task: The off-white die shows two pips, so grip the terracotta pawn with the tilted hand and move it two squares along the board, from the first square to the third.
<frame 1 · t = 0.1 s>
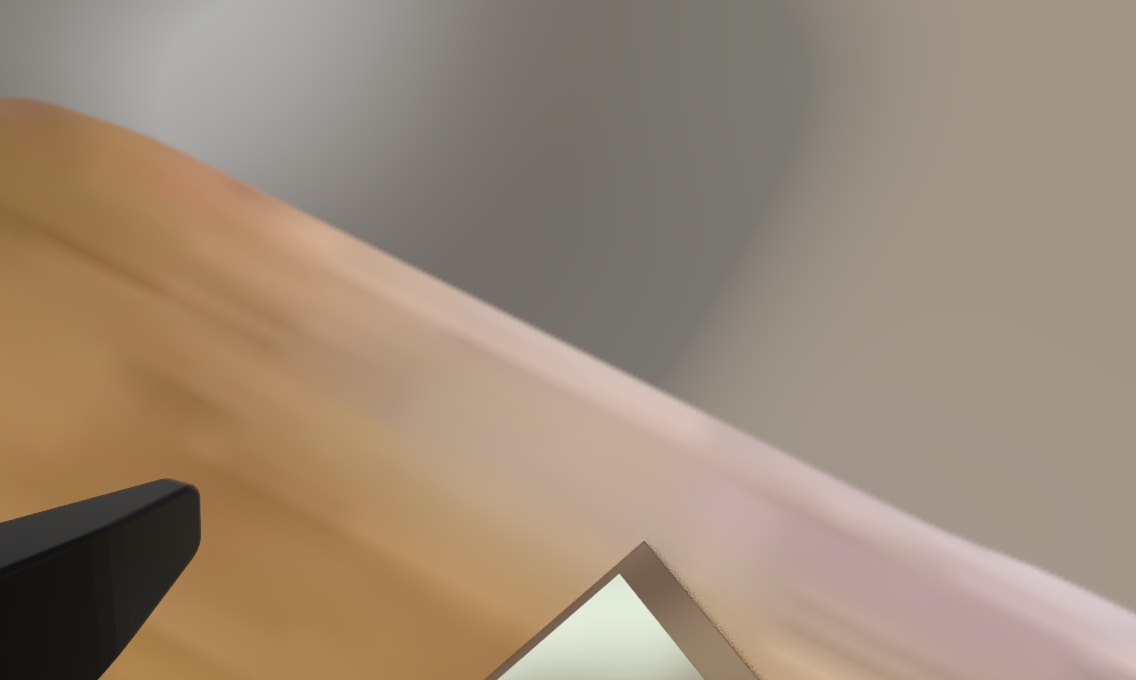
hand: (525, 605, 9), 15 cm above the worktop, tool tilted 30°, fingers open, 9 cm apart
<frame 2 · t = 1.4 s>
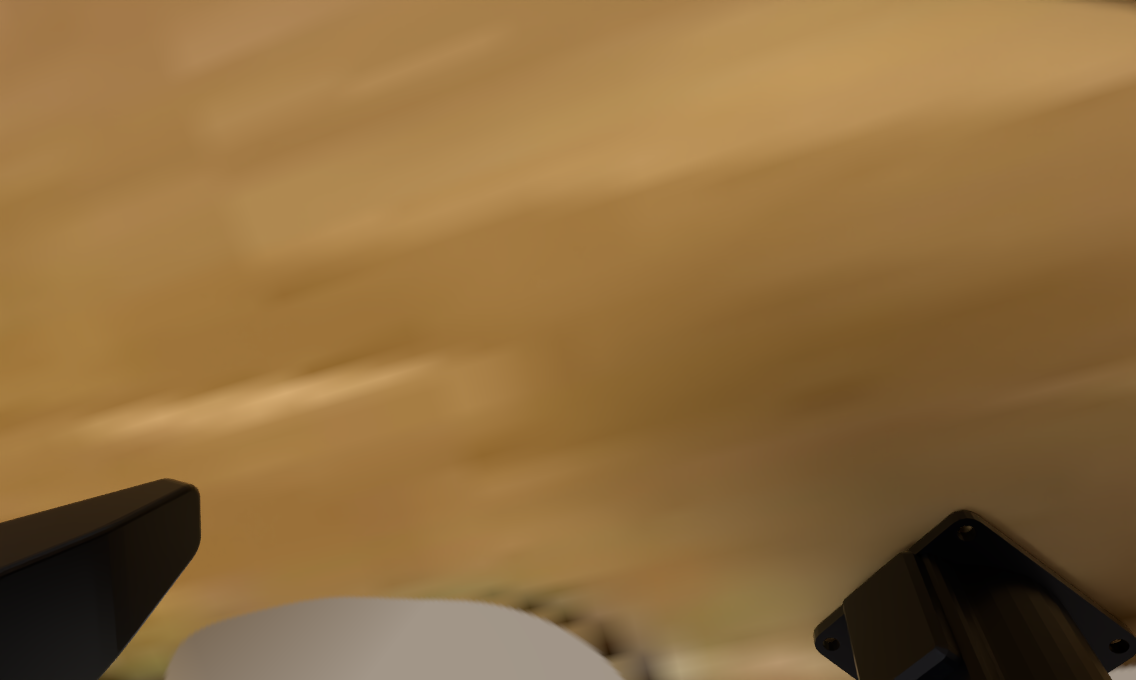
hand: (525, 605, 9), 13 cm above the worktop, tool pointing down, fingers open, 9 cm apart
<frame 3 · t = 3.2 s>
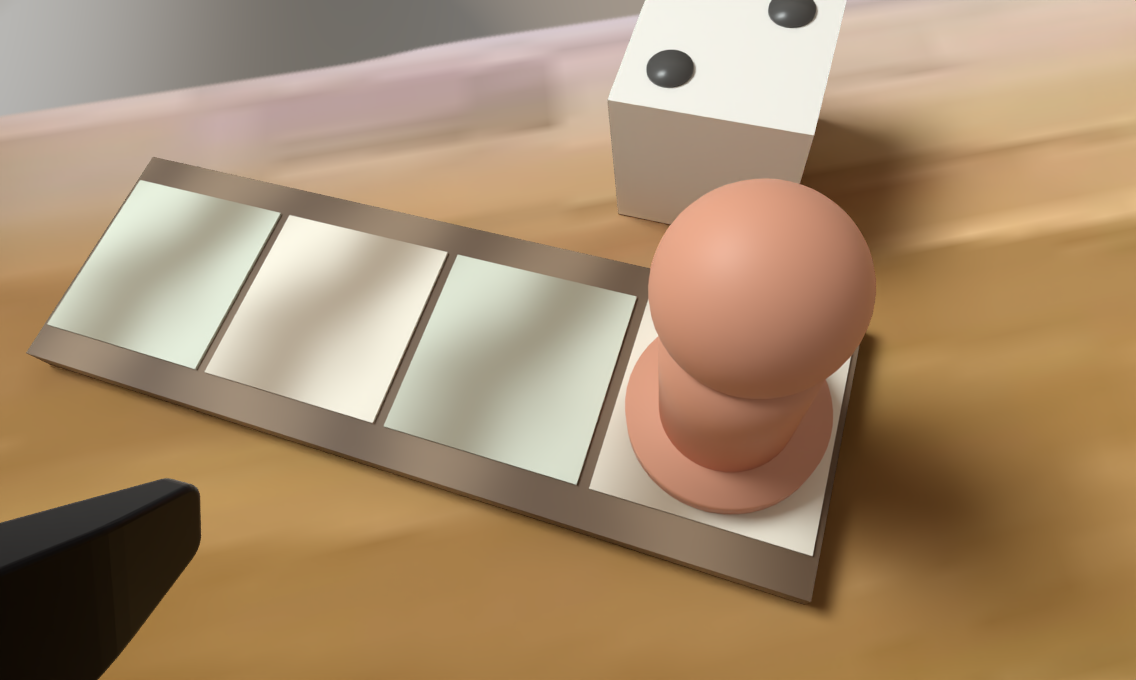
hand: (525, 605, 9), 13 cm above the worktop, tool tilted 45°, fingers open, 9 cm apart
board: (426, 347, 25), on the worktop
die: (717, 164, 27), on the worktop
pawn: (724, 415, 22), point 1 cm above the worktop, touching board
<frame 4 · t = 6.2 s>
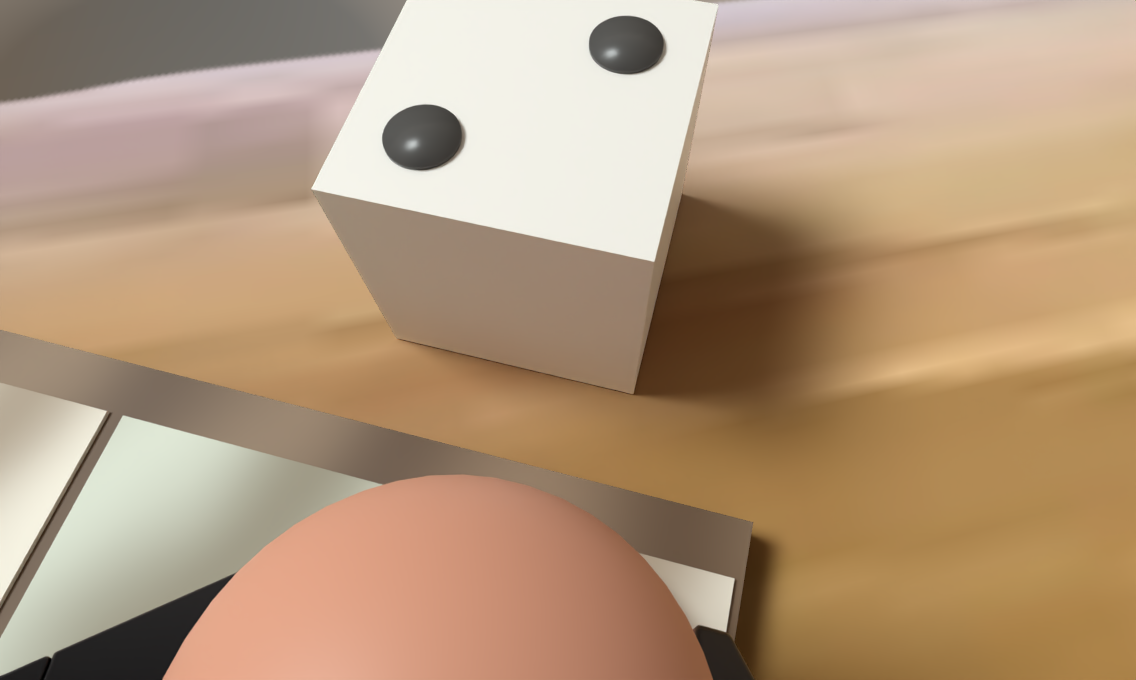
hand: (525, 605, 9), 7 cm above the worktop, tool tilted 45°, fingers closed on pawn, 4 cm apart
board: (67, 569, 16), on the worktop
die: (545, 262, 19), on the worktop
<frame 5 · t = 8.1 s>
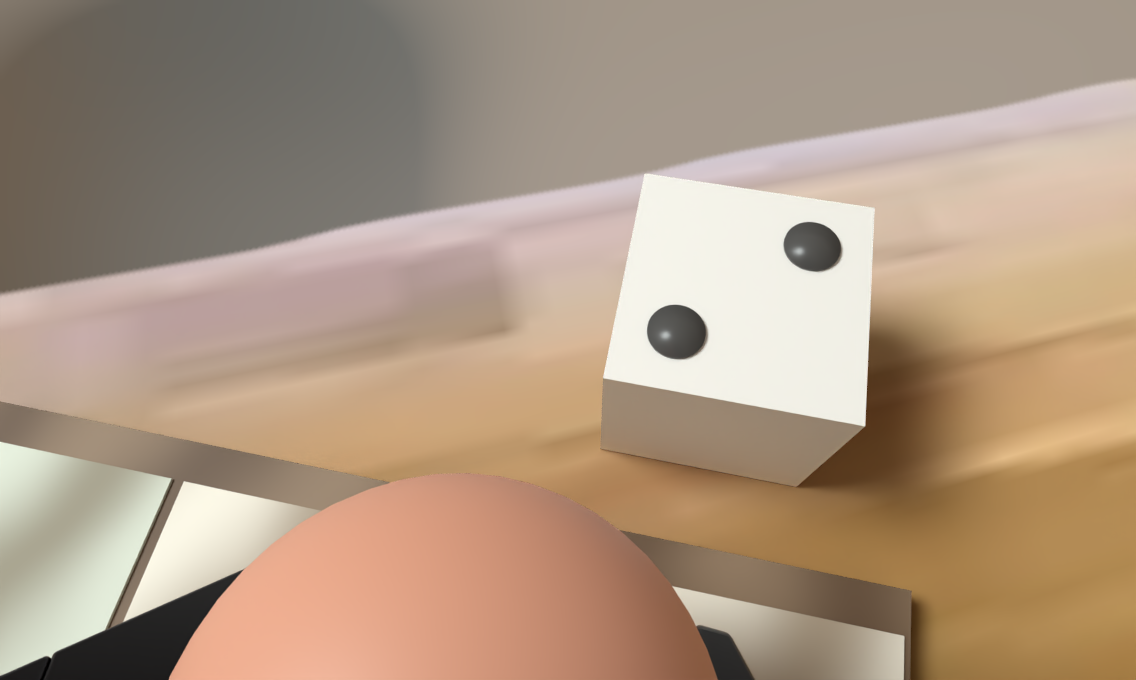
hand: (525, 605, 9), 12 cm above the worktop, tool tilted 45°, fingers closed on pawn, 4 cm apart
board: (377, 653, 20), on the worktop
die: (709, 377, 23), on the worktop
when the fingers open (8 cm above the worktop, at t = 10.1 s): pawn drops 1 cm, resting on board.
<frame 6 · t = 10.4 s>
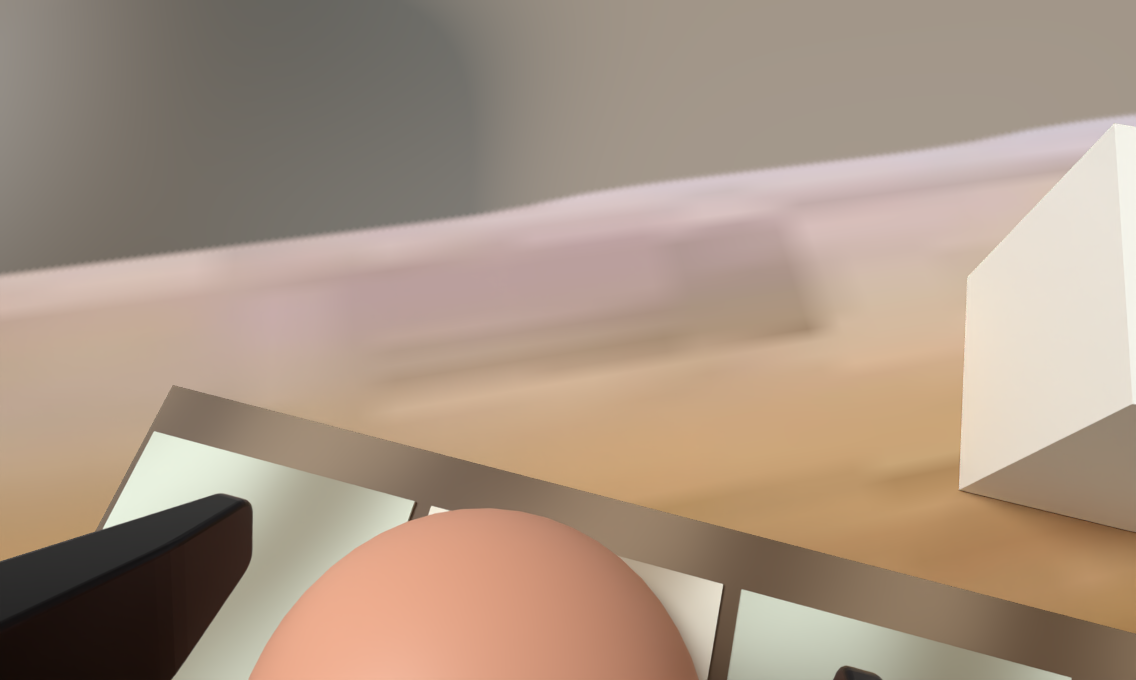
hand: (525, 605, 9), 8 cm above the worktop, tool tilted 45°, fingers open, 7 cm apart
die: (1088, 404, 18), on the worktop
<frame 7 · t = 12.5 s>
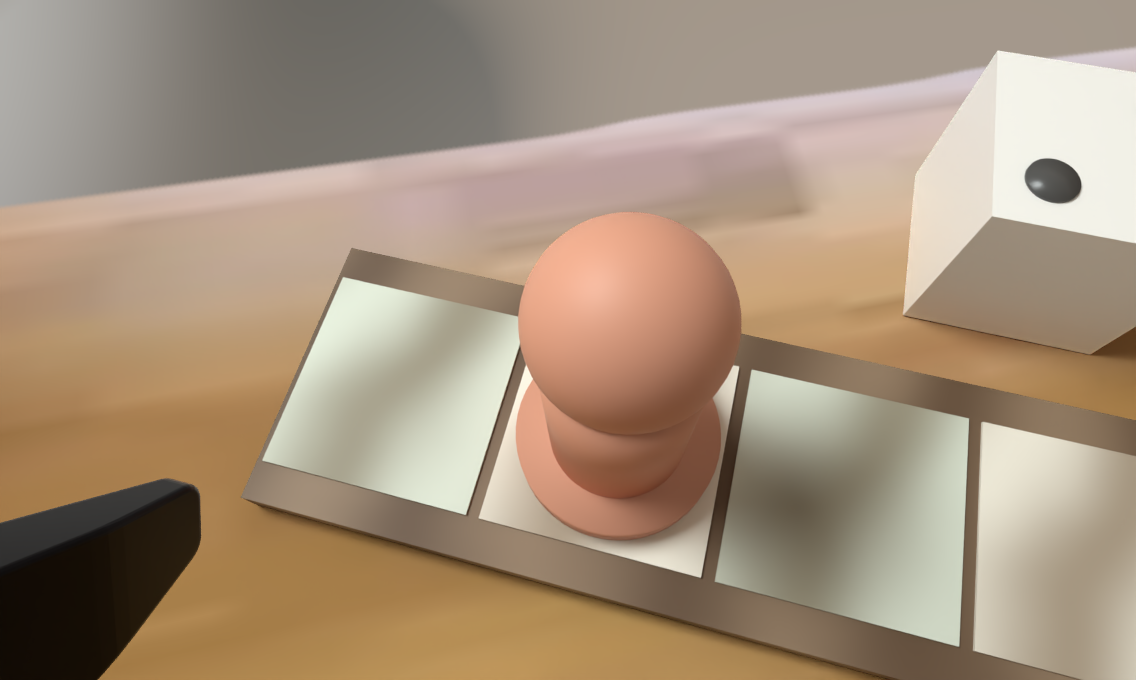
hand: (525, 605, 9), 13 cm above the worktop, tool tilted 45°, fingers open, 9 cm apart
board: (721, 476, 22), on the worktop
die: (997, 259, 25), on the worktop
pawn: (616, 439, 22), point 1 cm above the worktop, touching board
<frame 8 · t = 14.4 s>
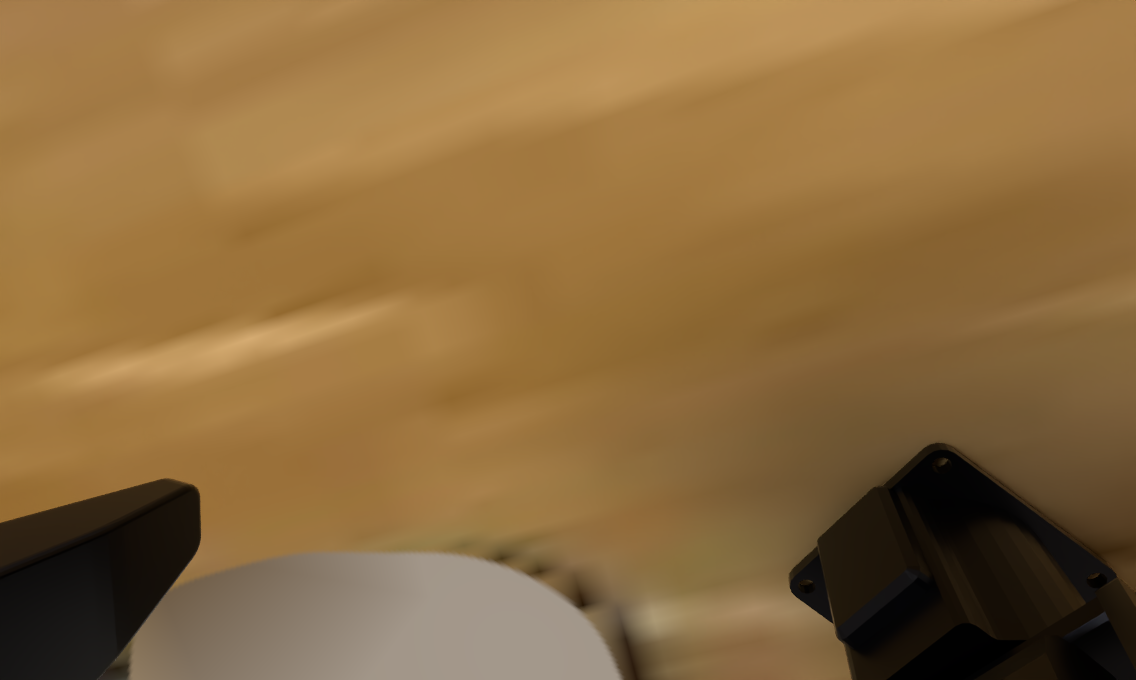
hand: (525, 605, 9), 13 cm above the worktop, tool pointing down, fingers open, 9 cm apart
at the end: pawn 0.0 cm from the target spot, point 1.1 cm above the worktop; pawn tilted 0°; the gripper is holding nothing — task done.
